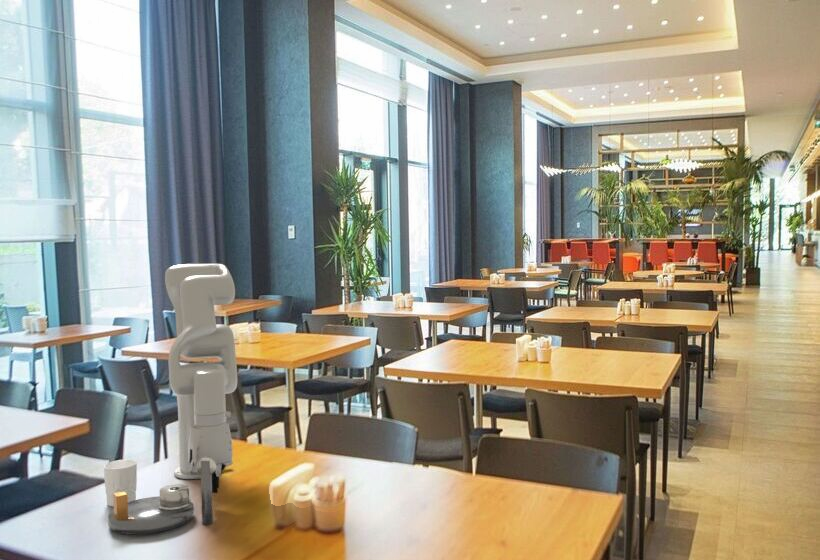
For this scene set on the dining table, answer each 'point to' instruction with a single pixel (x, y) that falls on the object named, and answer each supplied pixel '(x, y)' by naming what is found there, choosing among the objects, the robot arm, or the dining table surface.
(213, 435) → the robot arm
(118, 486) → the white cup
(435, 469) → the dining table surface
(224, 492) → the dining table surface
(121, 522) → the turntable
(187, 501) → the cover
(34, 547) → the dining table surface
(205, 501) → the dial post
